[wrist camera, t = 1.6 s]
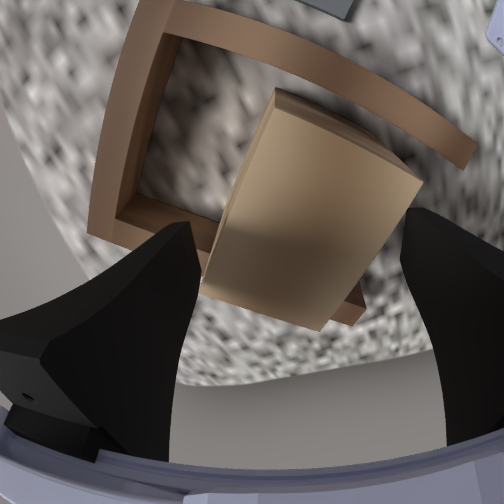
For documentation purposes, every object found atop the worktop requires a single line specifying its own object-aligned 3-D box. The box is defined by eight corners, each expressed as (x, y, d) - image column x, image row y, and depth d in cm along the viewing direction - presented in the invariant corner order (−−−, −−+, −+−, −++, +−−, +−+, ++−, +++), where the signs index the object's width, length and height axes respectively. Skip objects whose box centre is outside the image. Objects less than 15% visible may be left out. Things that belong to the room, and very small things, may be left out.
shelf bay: (449, 128, 14) (477, 144, 11) (345, 292, 20) (352, 326, 18) (166, 2, 11) (142, -7, 9) (110, 207, 18) (86, 232, 15)
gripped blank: (367, 130, 15) (423, 182, 9) (307, 239, 18) (319, 331, 13) (275, 87, 14) (274, 107, 8) (224, 207, 18) (198, 292, 12)
